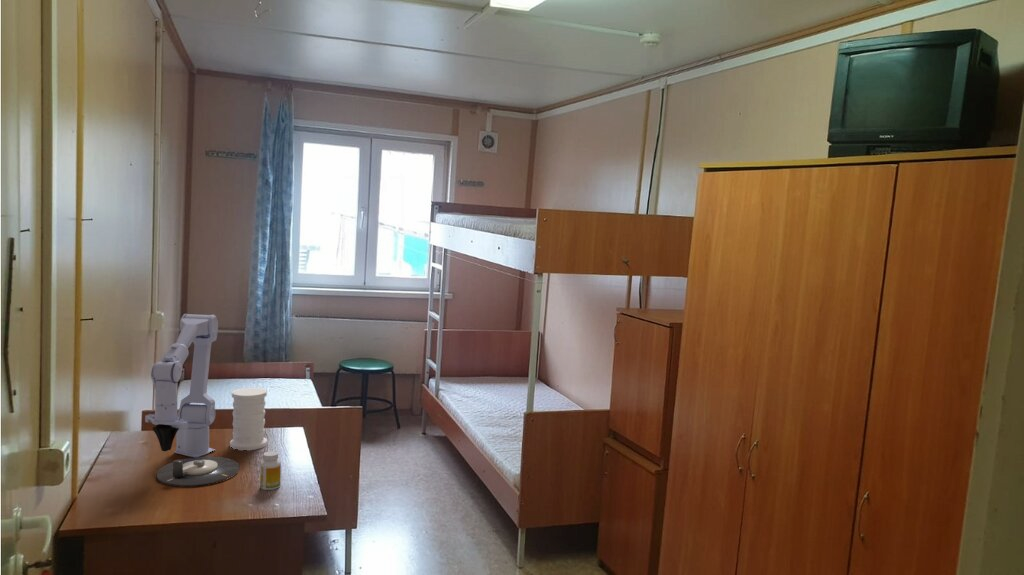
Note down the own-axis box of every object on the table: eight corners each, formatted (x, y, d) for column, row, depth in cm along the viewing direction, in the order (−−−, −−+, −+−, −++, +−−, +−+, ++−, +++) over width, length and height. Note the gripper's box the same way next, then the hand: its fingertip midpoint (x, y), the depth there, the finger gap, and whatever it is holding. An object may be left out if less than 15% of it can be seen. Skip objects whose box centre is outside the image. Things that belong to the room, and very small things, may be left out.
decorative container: (251, 452, 225) (252, 397, 223) (222, 447, 229) (222, 393, 227) (274, 442, 236) (275, 389, 234) (246, 437, 240) (246, 385, 238)
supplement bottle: (284, 485, 200) (285, 452, 199) (272, 491, 195) (272, 457, 194) (268, 482, 202) (269, 449, 201) (256, 488, 197) (256, 454, 196)
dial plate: (139, 477, 200) (139, 473, 200) (201, 455, 220) (201, 451, 220) (196, 492, 192) (196, 488, 192) (255, 467, 212) (255, 464, 212)
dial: (200, 460, 213) (200, 446, 212) (225, 466, 209) (225, 451, 208) (161, 475, 200) (161, 459, 199) (186, 481, 196) (187, 465, 196)
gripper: (135, 402, 198) (135, 449, 199) (173, 410, 192) (172, 458, 194) (157, 397, 205) (157, 442, 206) (194, 404, 199) (193, 451, 200)
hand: (166, 450), depth 200 cm, fingers closed
